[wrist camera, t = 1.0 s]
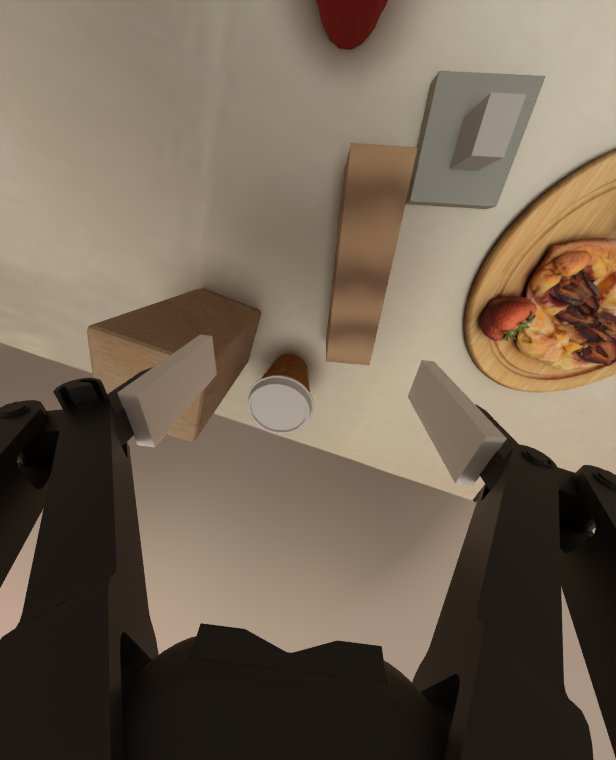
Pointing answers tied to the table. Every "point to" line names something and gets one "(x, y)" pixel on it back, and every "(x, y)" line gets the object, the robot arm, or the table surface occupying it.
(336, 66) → the table surface
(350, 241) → the walnut beam
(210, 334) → the wooden block
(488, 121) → the pedestal
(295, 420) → the disposable coffee cup
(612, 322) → the wooden plate with food
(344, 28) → the plastic cup
